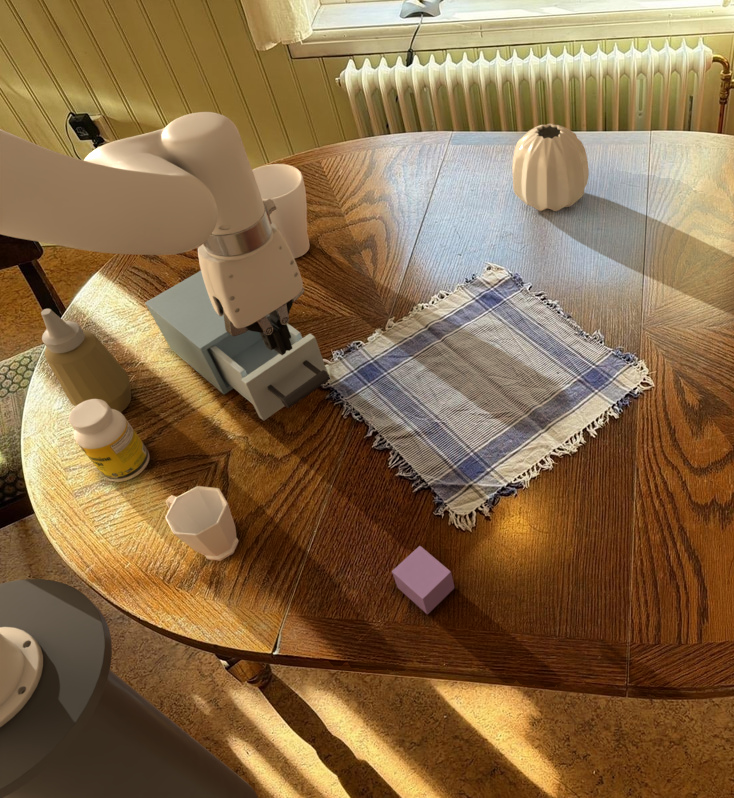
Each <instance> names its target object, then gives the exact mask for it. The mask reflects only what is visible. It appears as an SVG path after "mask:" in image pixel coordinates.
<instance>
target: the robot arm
mask: <svg viewBox="0 0 734 798" xmlns="http://www.w3.org/2000/svg"><path fill="white" fill-rule="evenodd" d="M252 170H253V168H252V165H251V163H250V159H249V157H248V154H247V150H246V148H245V145H244V142H243V139H242V136H241V134H240V131H239V129H238V127H237V125H236V124H235V122H234V121H233V120H231V119H230V118H229V117H228V116H225V115H223V114H222V113H219V112H212V111H199V112H192V113H188V114H184V115H182V116H179V117H177V118H175V119H173V120H172V121H171V122H169V123H168V124H167V125H166V126H165V127H163V128H160V129H157V130H154V131H150V132H146V133H142V134H137V135H134V136H133V135H132V136H130V137H129V136H128V137H124V138H121V139H116V140H114V141H111V142H107V143H104V144H103V145H100V146H98V147H97V148H95V149H93V150H92V151H91V152H89V153H88V155H86V156H85V158H84V159H80V158H76V157H72V156H71V155H67V154H64V153H60V152H58V151H55V150H52V149H49V148H47V147H44V146H41V145H38V144H36V143H34V142H32V141H30V140H28V139H25V138H23V137H20V136H18V135H15V134H13V133H11V132H9V131H6V130H4V129H1V128H0V235H2V236H6V237H11V238H15V239H21V240H27V241H33V242H39V243H44V244H49V245H54V246H55V245H56V246H60V247H64V248H71V249H76V250H82V251H88V252H93V253H94V252H95V253H101V254H103V253H104V254H111V255H112V254H114V255H139V256H140V255H141V256H170V255H179V254H183V253H187V252H190V251H193V250H195V249H197V257H198V263H199V268H200V271H201V272H202V276H203V280H204V283H205V286H206V289H207V292H208V295H209V298H210V300H211V303H212V305H213V308H214V310H215V311H216V313H217V314H218V315H219V316H222V315H224V322H225V329H226V331H227V332H228V333H229V334H231V335H232V336H237V335H240V334H242V333H245V332H246V331H248V330H250V331H255V332H260V334H261V336H262V339H263V341H264V343H265V345H266V347H267V348H268V349H270V350H271V351H272V350H273V349H274V350H275V351H277V352H278V353H279V354H281V355H284V354H285V353H286V351H290V350H291V349H293V348H292V345H291V342H290V340H289V339H290V338H291V335H290V332H289V329H288V327H287V323H288V324H289V322H290V317H289V313H290V311H291V309H292V307H293V304H294V303H295V302H296V301H297V300H298V299H299V298H300V297H302V295H304V293H305V288H304V282H303V278H302V274H301V272H300V269H299V267H298V266H299V265H298V263H297V261H296V258H295V259H294V257H293V255H292V253H291V251H290V249H289V247H288V245H287V243H286V241H285V240H284V238H283V236H282V234H281V233H280V231H279V230H278V228H277V227H276V225H275V224H274V223H273V222H271V219H270V214H271V213H272V211H274V210H276V205H275V203H274V202H273V201H272V200H271V199H268V200H266V201H262V198H261V195H260V192H259V189H258V186H257V183H256V180H255V177H254V174H253V171H252ZM266 315H269V316H268V317H266ZM42 669H43V654H42V650H41V647H40V645H39V644H38V642H37V641H36V640H35V639H34V638H33V637H32V636H31V635H29V634H28V633H26V632H25V631H23V630H20V629H17V628H12V627H0V727H2V726H3V725H4V724H5V723H7V722H8V721H9V720H11V719H12V718H13V717H14V716H15V715H16V714H17V713H18V712H19V711H20V710H21V709H22V708H23V707H24V705H25V704H26V703H27V701H28V700H29V699H30V698H31V696H32V694H33V692H34V691H35V689H36V687H37V685H38V683H39V680H40V677H41V674H42Z"/></svg>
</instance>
